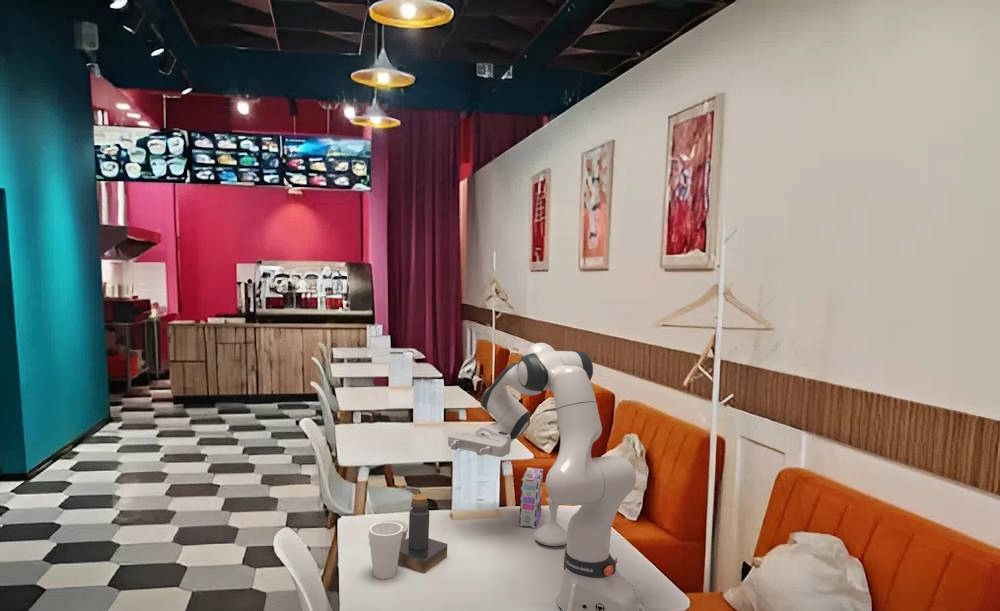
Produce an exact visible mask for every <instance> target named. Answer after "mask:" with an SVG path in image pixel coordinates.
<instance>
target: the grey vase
mask: <svg viewBox="0 0 1000 611" xmlns="http://www.w3.org/2000/svg"><path fill="white" fill-rule="evenodd" d="M545 501H546V502H547V505H548V509H549V518H548V521H547V522H546V523H545V524H544V525H542V526H540V527H539V528H538V529H536V531H535V533H534V535H533V536H534V539H535V540H536V541H537V542H538V543H539V544H542V545H545V546H548V547H559V546H564V545H567V530H566V529H565V528H563V527H562V525H560V524H559V523H558V521H557V514H558V509H559V506H560V505H558V504H556V503H554V502H553V501H552V499H551V498H550V497H549V496H548V497H546V499H545Z"/></svg>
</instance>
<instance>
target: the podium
mask: <svg viewBox="0 0 1000 611" xmlns="http://www.w3.org/2000/svg"><path fill="white" fill-rule="evenodd" d="M447 557H448V543H446V542H443V541H439V540H436V539H432V538H429V540H428V547H427V548H426V549H424V550H412V549H410V548H409V537H408V538H406V540H404V541H403V542H401V546H400V552H399V558H398V565H397V566H400V567H403V568H405V569H409V570H413V571H415V572H419V573H422V574H425V573H426V572H428V571H429V570H431V569H432V568H434V567H435V566H436V565H437V564H439V563H440V562H442V561H443V560H445V559H447Z"/></svg>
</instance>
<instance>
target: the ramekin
mask: <svg viewBox="0 0 1000 611" xmlns="http://www.w3.org/2000/svg"><path fill="white" fill-rule="evenodd" d="M380 522H396V523H398V524H401V525H402V527H403V537H402V540H401V542H403V541H404V540H406V539H407V534H408V532H409V524H407V523H406V522H404V521H400V520H395V519H388V520H387V519H386V520H382V521H378V522H377V523H380Z"/></svg>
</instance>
